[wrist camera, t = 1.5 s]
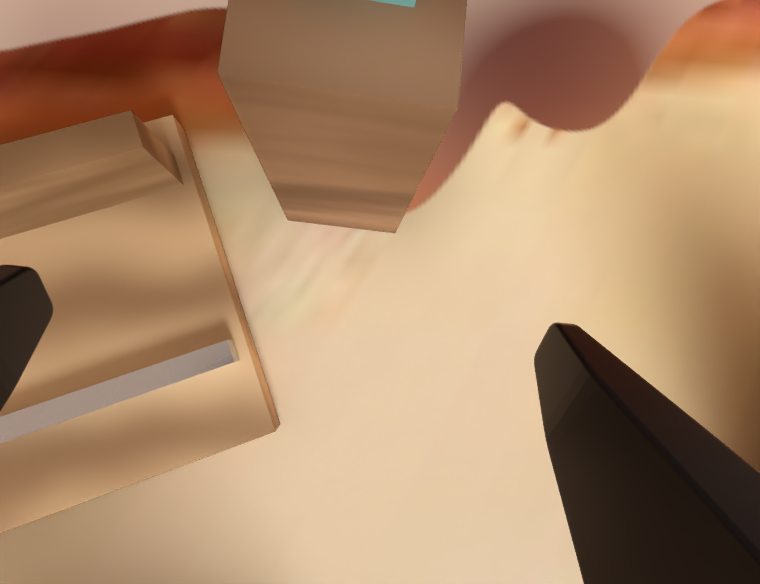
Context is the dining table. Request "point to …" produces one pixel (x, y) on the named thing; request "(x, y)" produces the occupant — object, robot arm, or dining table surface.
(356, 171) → the wooden block
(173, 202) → the cleat board
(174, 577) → the dining table surface
